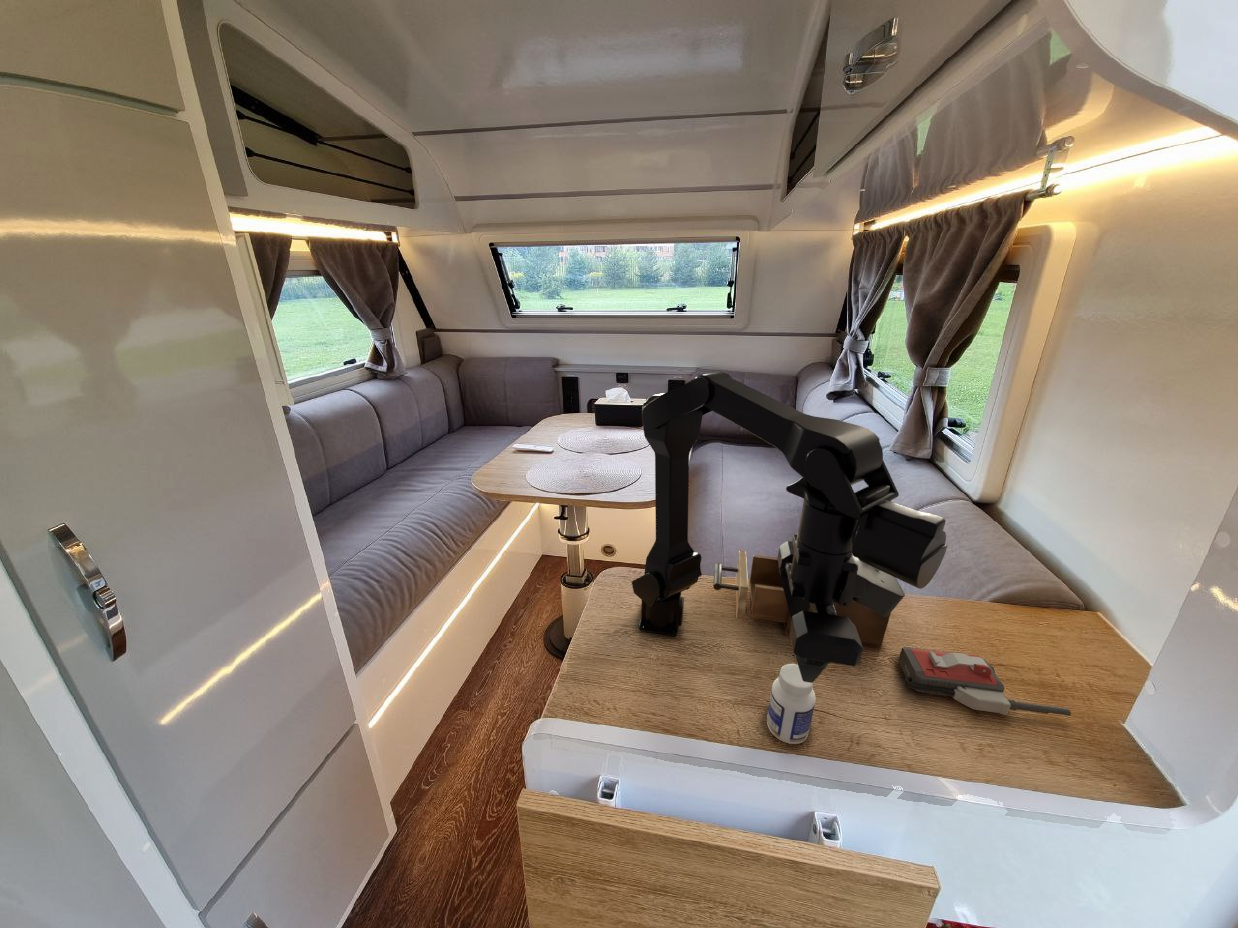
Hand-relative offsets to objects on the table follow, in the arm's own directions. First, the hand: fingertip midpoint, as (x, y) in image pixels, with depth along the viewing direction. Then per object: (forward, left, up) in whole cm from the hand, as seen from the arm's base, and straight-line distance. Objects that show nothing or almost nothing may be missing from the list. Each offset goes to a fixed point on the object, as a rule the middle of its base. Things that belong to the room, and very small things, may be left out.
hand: (801, 651), depth 57 cm
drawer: (-2, +24, -12) cm, 27 cm away
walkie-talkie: (+27, +12, -13) cm, 32 cm away
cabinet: (+9, +24, -13) cm, 29 cm away
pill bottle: (0, 0, -13) cm, 13 cm away
